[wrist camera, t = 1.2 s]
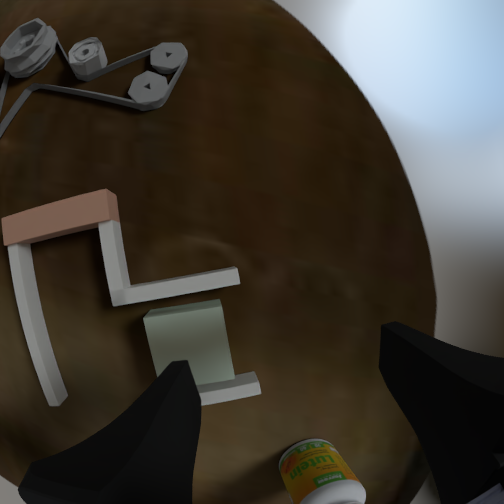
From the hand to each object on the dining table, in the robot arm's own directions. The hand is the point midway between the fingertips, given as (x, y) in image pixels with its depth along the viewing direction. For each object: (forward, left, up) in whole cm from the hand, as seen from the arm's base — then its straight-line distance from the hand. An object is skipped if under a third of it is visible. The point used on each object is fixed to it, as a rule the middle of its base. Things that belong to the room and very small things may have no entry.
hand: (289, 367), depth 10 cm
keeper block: (-1, +4, -12) cm, 12 cm away
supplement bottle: (-15, -3, -12) cm, 19 cm away
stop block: (+9, +12, -11) cm, 19 cm away
